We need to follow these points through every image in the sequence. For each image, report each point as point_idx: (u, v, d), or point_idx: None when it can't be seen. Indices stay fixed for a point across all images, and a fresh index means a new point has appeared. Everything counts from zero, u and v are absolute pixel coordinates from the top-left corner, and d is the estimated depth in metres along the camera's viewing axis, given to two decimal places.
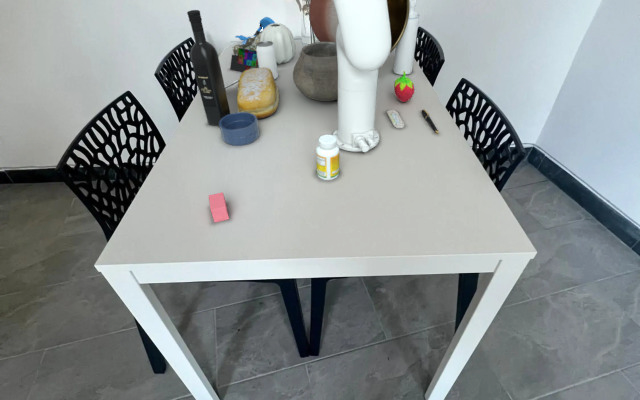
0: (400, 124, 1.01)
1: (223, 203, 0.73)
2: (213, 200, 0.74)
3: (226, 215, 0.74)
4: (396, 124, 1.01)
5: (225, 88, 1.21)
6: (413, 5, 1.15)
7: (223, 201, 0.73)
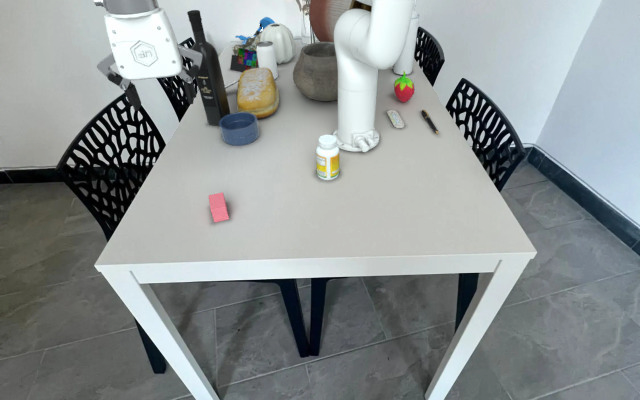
0: (400, 124, 1.01)
1: (223, 203, 0.73)
2: (213, 200, 0.74)
3: (226, 215, 0.74)
4: (396, 124, 1.01)
5: (225, 88, 1.21)
6: None
7: (223, 201, 0.73)
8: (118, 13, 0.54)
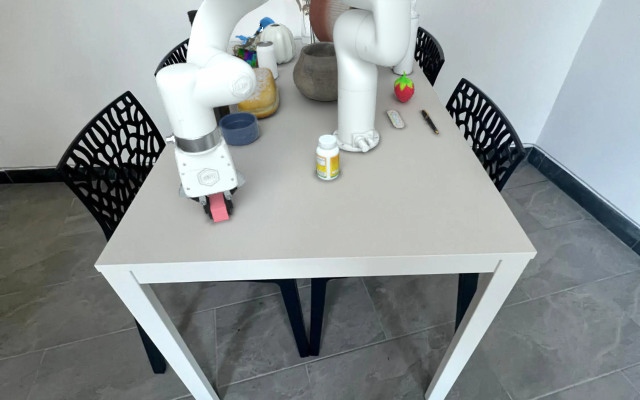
0: (400, 124, 1.01)
1: (223, 203, 0.73)
2: (213, 200, 0.74)
3: (226, 215, 0.74)
4: (396, 124, 1.01)
5: None
6: (413, 5, 1.15)
7: (223, 201, 0.73)
8: (190, 152, 0.61)
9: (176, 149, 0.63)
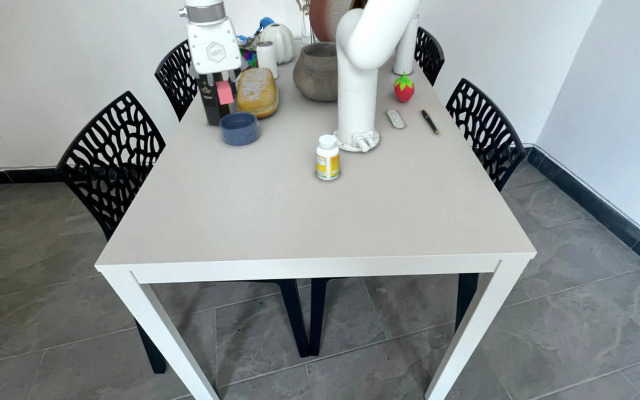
0: (400, 124, 1.01)
1: (228, 86, 0.81)
2: (219, 84, 0.82)
3: (231, 98, 0.82)
4: (396, 124, 1.01)
5: None
6: None
7: (229, 85, 0.82)
8: (201, 21, 0.70)
9: (187, 23, 0.72)
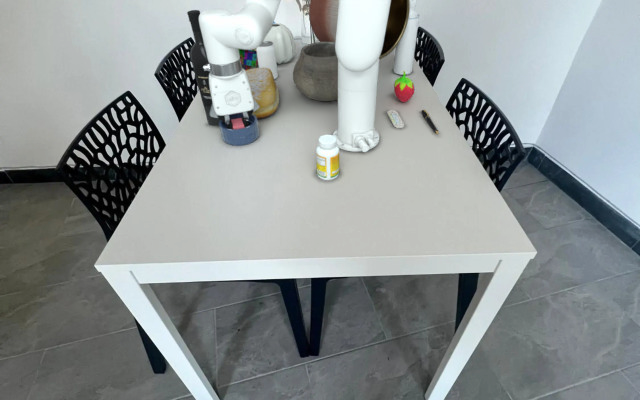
0: (400, 124, 1.01)
1: (242, 124, 0.96)
2: (234, 122, 0.97)
3: None
4: (396, 124, 1.01)
5: None
6: (413, 5, 1.15)
7: (242, 122, 0.96)
8: (221, 75, 0.84)
9: (210, 75, 0.86)
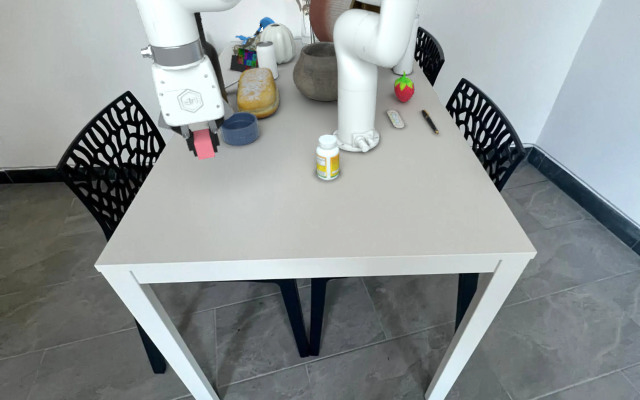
0: (400, 124, 1.01)
1: (208, 137, 0.65)
2: (197, 135, 0.66)
3: (212, 152, 0.66)
4: (396, 124, 1.01)
5: (225, 88, 1.21)
6: None
7: (209, 136, 0.66)
8: (169, 65, 0.54)
9: (153, 65, 0.56)
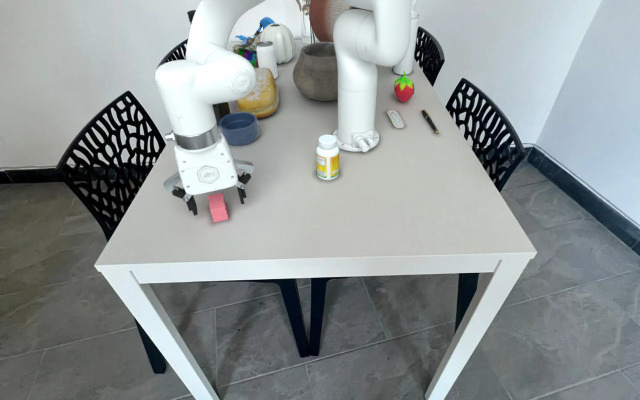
0: (400, 124, 1.01)
1: (222, 203, 0.73)
2: (212, 200, 0.74)
3: (225, 215, 0.73)
4: (396, 124, 1.01)
5: None
6: (413, 5, 1.15)
7: (223, 201, 0.73)
8: (190, 149, 0.61)
9: (176, 146, 0.63)
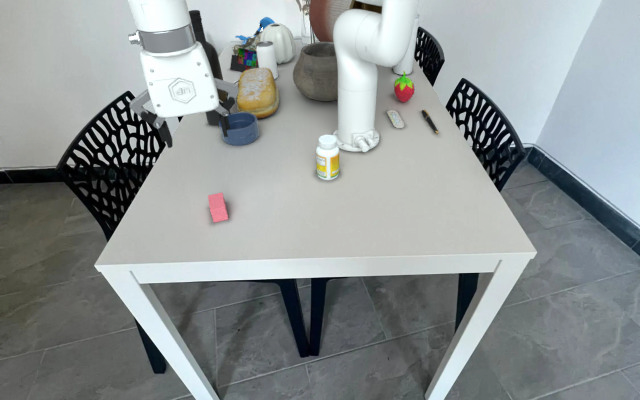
0: (400, 124, 1.01)
1: (222, 203, 0.73)
2: (212, 200, 0.74)
3: (225, 215, 0.73)
4: (396, 124, 1.01)
5: None
6: None
7: (223, 201, 0.73)
8: (158, 52, 0.50)
9: (142, 52, 0.52)
